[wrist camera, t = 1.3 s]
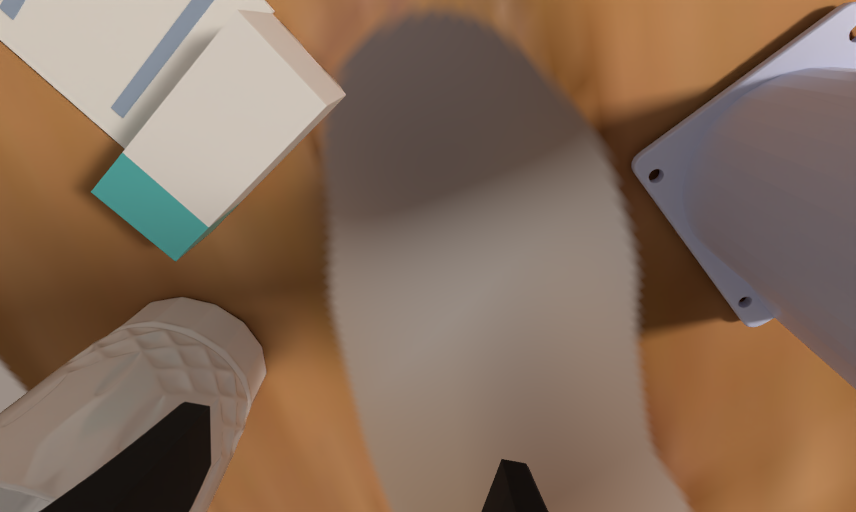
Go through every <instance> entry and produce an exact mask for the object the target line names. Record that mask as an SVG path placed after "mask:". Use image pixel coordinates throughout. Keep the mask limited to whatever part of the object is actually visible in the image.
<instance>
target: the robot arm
mask: <svg viewBox="0 0 856 512" xmlns="http://www.w3.org/2000/svg"><path fill="white" fill-rule="evenodd" d="M855 26H856V2H849V3H844V4H842V5H840V6H838V7H836V8H835V9H834V10H832V11H831V12H830V13H828V14H827V15H825V16H824V17H823V18H821V19H820V20H819V21H817V22H816V23H815V24H813V25H812V26H811V27H809V28H808V29H806V30H805V31H804V32H802V33H801V34H800V35H798V36H797V37H796V38H794V39H793V40H791V41H790V42H789V43H787V44H786V45H785V46H783V47H782V48H781V49H779V50H778V51H777V52H775V53H774V54H772V55H771V56H770V57H768V58H767V59H766V60H764V61H763V62H762V63H760V64H759V65H757V66H756V67H755V68H753V69H752V70H751V71H749V72H748V73H747V74H745V75H744V76H743V77H741V78H740V79H738V80H737V81H736V82H734V83H733V84H732V85H730V86H729V87H728V88H726V89H725V90H723V91H722V92H721V93H719V94H718V95H717V96H715V97H714V98H713V99H711V100H710V101H709V102H707V103H706V104H704V105H703V106H702V107H700V108H699V109H698V110H696V111H695V112H694V113H692V114H691V115H689V116H688V117H687V118H685V119H684V120H683V121H681V122H680V123H679V124H677V125H676V126H675V127H673V128H672V129H670V130H669V131H668V132H666V133H665V134H664V135H662V136H661V137H660V138H658V139H657V140H655V141H654V142H653V143H651V144H650V145H649V146H647V147H646V148H645V149H643V150H642V151H641V152H639V153H638V154H637V155H636V156H635V157H634V159H633V161H632V166H631V168H632V170H633V173H634V174H635V175H636V177H637V178H638V179H639V181H640V182H641V184H642V185H643V186H644V188H645V189H646V190H647V192H648V193H649V195H650V196H651V197H652V199H653V200H654V202H655V203H656V204H657V206H658V207H659V208H660V210H661V211H662V213H663V214H664V215H665V217H666V218H667V219H668V221H669V222H670V224H671V225H672V226H673V228H674V229H675V231H676V232H677V233H678V235H679V236H680V237H681V239H682V240H683V242H684V243H685V244H686V246H687V247H688V249H689V250H690V251H691V253H692V254H693V255H694V257H695V258H696V260H697V261H698V262H699V264H700V265H701V266H702V268H703V269H704V271H705V272H706V273H707V275H708V276H709V278H710V279H711V280H712V282H713V283H714V284H715V286H716V287H717V289H718V290H719V291H720V293H721V294H722V295H723V297H724V298H725V300H726V301H727V302H728V304H729V305H730V307H731V308H732V309H733V311H734V312H735V313H736V315H737V316H738V318H739V319H740V320H741V321H742V322H743V323H744V324H745V325H746V326H748V327H757V326H760V325H762V324H764V323H766V322H768V321H769V320H771V319H773V318H776V319H777V320H778V321H779V322H780V323H781V324H783V325H784V326H785V327H786V328H787V329H788V330H789V331H790V332H792V333H793V334H794V335H795V336H796V337H797V338H798V339H799V340H801V341H802V342H803V343H804V344H805V345H806V346H807V347H808V348H810V349H811V350H812V351H813V352H814V353H815V354H816V355H818V356H819V357H820V358H821V359H822V360H823V361H824V362H825V363H827V364H828V365H829V366H830V367H831V368H832V369H833V370H834V371H836V372H837V373H838V374H839V375H840V376H841V377H842V378H843V379H845V380H846V381H847V382H848V383H849V384H850V385H851V386H852V387H854V388H855V389H856V36H855V37H854V38H853V40H851V41H850V40H849V34H850V31H851V30H852V29H853V28H854V27H855ZM655 169H659V175H658V177H657V178H656V179H653V180H649V174H650V173H651V172H652V171H653V170H655ZM743 297H746V299H745V300H744V301H742V302H740V303H738V302H739V300H740V299H741V298H743ZM210 466H211V426H210V406H207V405H201V404H196V403H190V402H183V403H181V404H180V405H179V406H177V407H176V408H175V409H174V410H173V411H171V412H170V413H169V414H168V415H166V416H165V417H164V418H163V419H162V420H160V421H159V422H158V423H157V424H155V425H154V426H153V427H152V428H150V429H149V430H148V431H147V432H146V433H144V434H143V435H142V436H141V437H139V438H138V439H137V440H135V441H134V442H133V443H132V444H130V445H129V446H128V447H127V448H125V449H124V450H123V451H121V452H120V453H119V454H118V455H116V456H115V457H114V458H112V459H111V460H110V461H108V462H107V463H106V464H104V465H103V466H102V467H101V468H99V469H98V470H97V471H95V472H94V473H93V474H91V475H90V476H89V477H87V478H86V479H84V480H83V481H82V482H80V483H79V484H77V485H76V486H75V487H73V488H72V489H70V490H69V491H68V492H66V493H65V494H63V495H62V496H61V497H59V498H58V499H56V500H55V501H53V502H52V503H51V504H49V505H48V506H46V507H45V508H44V509H42V510H41V511H39V512H189V511H190V509H191V508H192V506H193V503H194V501H195V499H196V497H197V495H198V493H199V491H200V489H201V486H202V484H203V482H204V480H205V477H206V475H207V473H208V471H209V468H210ZM482 512H548V510H547V508H546V506H545V504H544V501H543V499H542V497H541V495H540V492H539V490H538V488H537V486H536V483H535V481H534V479H533V477H532V474H531V472H530V470H529V467H528V466H527V464H525V463H520V462H515V461H509V460H504V459H502V460H501V462H500V465H499V467H498V470H497V473H496V475H495V478H494V481H493V483H492V486H491V488H490V491H489V494H488V496H487V499H486V502H485V504H484V507H483V509H482Z"/></svg>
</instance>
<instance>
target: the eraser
mask: <svg viewBox="0 0 856 512" xmlns="http://www.w3.org/2000/svg"><path fill="white" fill-rule="evenodd" d="M345 95H346V94H345V93H344V92H343V90H342V88H341V87H340V85H339V84H338V83H337V81H336V80H335V79H333V78H332V77H331V76H330V75H329V74H328V73H327V71H326V70H325V69H324V68H322V67H321V66H320V65H319V64H318V63H317V62H316V61H315V60H314V59H313V58H312V57H311V56H310V54H309V53H308V52H307V51H306V50H305V49H304V48H303V46H302V44H301V43H300V42H299V41H298V40H297V39H296V37H295V36H294V35H293V34H292V33H291V32H290V31H289V30H288V29H287V28H286V26H285V25H284V24H282V23H281V22H280V21H279V20H278V19H277V18H276V17H275V16H274V15H273V14H272V13H266V12H257V11H247V10H238V9H237V10H236V11H235V12H234V13H233V15H232V16H231V17H230V18H229V20H228V21H227V22H226V23H225V25H224V26H223V27H222V28H221V30H220V31H219V32H218V33H217V35H216V36H215V37H214V38H213V40H212V41H211V42H210V43H209V45H208V46H207V47H206V48H205V50H204V51H203V52H202V53H201V55H200V56H199V57H198V58H197V60H196V61H195V62H194V63H193V65H192V66H191V67H190V68H189V70H188V71H187V72H186V73H185V75H184V76H183V77H182V78H181V80H180V81H179V82H178V84H177V85H176V86H175V87H174V89H173V90H172V91H171V92H170V94H169V95H168V96H167V97H166V99H165V100H164V101H163V102H162V104H161V105H160V106H159V107H158V109H157V110H156V111H155V112H154V114H153V115H152V116H151V117H150V119H149V120H148V121H147V122H146V124H145V125H144V126H143V127H142V129H141V130H140V131H139V132H138V134H137V135H136V136H135V137H134V139H133V140H132V141H131V142H130V144H129V145H128V146H127V147H126V149H125V150H124V151H123V152H122V154H121V155H120V156H119V157H118V159H117V160H116V161H115V162H114V164H113V165H112V166H111V167H110V169H109V170H108V171H107V172H106V174H105V175H104V176H103V177H102V179H101V180H100V181H99V182H98V184H97V185H96V186H95V187H94V189H93V190H92V191H91V193H93V194H94V195H95V196H96V197H98V198H99V199H100V200H101V201H102V202H104V203H105V204H106V205H107V206H109V207H110V208H111V209H112V210H113V211H115V212H116V213H117V214H118V215H119V216H121V217H122V218H123V219H124V220H126V221H127V222H128V223H129V224H130V225H132V226H133V227H134V228H135V229H137V230H138V231H139V232H140V233H141V234H143V235H144V236H145V237H146V238H147V239H149V240H150V241H151V242H152V243H154V244H155V245H156V246H157V247H158V248H160V249H161V250H162V251H163V252H165V253H166V254H167V255H168V256H169V257H171V258H172V259H173V260H174V261H175V262H176V261H177V260H178V259H179V258H181V257H182V256H183V255H184V254H185V253H187V252H188V251H189V250H190V249H192V248H193V247H194V246H195V245H196V244H198V243H199V242H200V241H201V240H203V239H204V238H205V237H206V236H207V235H209V234H210V233H211V232H212V231H213V230H214V229H215V228H216V227H217V226H218V225H219V224H220V223H221V222H222V221H223V220H224V219H225V218H226V217H227V216H228V215H229V214H230V213H231V212H232V211H233V210H234V209H235V208H236V207H237V206H238V205H239V204H240V203H241V202H242V201H243V200H244V199H245V198H246V197H247V196H248V194H249V193H250V192H251V191H252V190H253V189H254V188H255V187H256V186H257V185H258V184H259V183H260V182H261V181H262V180H263V179H264V178H265V177H266V176H267V175H268V174H269V173H270V172H271V171H272V170H273V169H274V168H275V167H276V166H277V165H278V164H279V163H280V162H281V161H282V160H283V159H284V158H285V157H286V156H287V155H288V154H289V153H290V152H291V151H292V150H293V149H294V148H295V147H296V146H297V145H298V144H299V143H300V141H301V140H302V139H303V138H304V137H305V136H306V135H307V134H308V133H309V132H310V131H311V130H312V129H313V128H314V127H315V126H316V125H317V124H318V123H319V122H320V121H321V120H322V119H323V118H324V117H325V116H326V115H327V114H328V113H329V112H330V111H331V110H332V109H333V108H334V107H335V106H336V105H337V104H338V103H339V102H340V101H341V100H342V99H343V98H344V96H345Z"/></svg>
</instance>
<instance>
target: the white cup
mask: <svg viewBox="0 0 856 512" xmlns="http://www.w3.org/2000/svg"><path fill="white" fill-rule="evenodd" d="M265 376H266V367H265V361H264V355H263V350H262V346H261V345H260V344H259V342H258V341H257V339H256V338H255V337H254V335H253V334H252V333H251V331H250V330H249V329H248V327H247V326H246V325H245V323H244V322H242V321H241V320H239V319H238V318H236V317H234V316H233V315H231V314H230V313H228V312H227V311H225V310H223V309H222V308H220V307H219V306H217V305H215V304H211V303H207V302H203V301H198V300H194V299H190V298H185V297H178V298H172V299H166V300H161V301H155V302H151V303H149V304H148V305H147V306H145V307H144V308H143V309H142V310H140V311H139V312H138V313H137V314H135V315H134V316H133V317H132V318H130V319H129V320H128V321H127V322H125V323H124V324H123V325H122V326H120V327H119V328H117V329H116V330H114V331H113V332H111V333H110V334H109V335H108V336H106V337H104V338H102V339H99V340H97V341H95V342H94V343H93V344H91V345H90V346H89V347H88V348H87V349H85V350H84V351H82V352H81V353H79V354H78V355H76V356H75V357H73V358H72V359H71V360H69V361H68V362H66V363H65V364H64V365H62V366H61V367H60V368H58V369H57V370H56V371H54V372H53V373H52V374H51V375H49V376H48V377H47V378H45V379H44V380H43V381H41V382H40V383H39V384H38V385H36V386H35V387H34V388H32V389H31V390H30V391H29V392H27V393H26V394H25V395H23V396H22V397H21V398H19V399H18V400H17V401H16V402H15V403H13V404H12V405H10V406H9V407H8V408H6V409H5V410H4V411H2V412H1V413H0V512H39V511H41V510H42V509H44V508H45V507H46V506H48V505H49V504H51V503H52V502H53V501H55V500H56V499H58V498H59V497H61V496H62V495H63V494H65V493H66V492H68V491H69V490H70V489H72V488H73V487H75V486H76V485H77V484H79V483H80V482H82V481H83V480H84V479H86V478H87V477H89V476H90V475H91V474H93V473H94V472H95V471H97V470H98V469H99V468H101V467H102V466H103V465H104V464H106V463H107V462H108V461H110V460H111V459H112V458H114V457H115V456H116V455H118V454H119V453H120V452H121V451H123V450H124V449H125V448H127V447H128V446H129V445H130V444H132V443H133V442H134V441H135V440H137V439H138V438H139V437H141V436H142V435H143V434H144V433H146V432H147V431H148V430H149V429H150V428H152V427H153V426H154V425H155V424H157V423H158V422H159V421H160V420H162V419H163V418H164V417H165V416H166V415H168V414H169V413H170V412H171V411H173V410H174V409H175V408H176V407H177V406H179V405H180V404H181V403H183V402H190V403H196V404H201V405H207V406H210V426H211V466H210V468H209V471H208V473H207V475H206V477H205V480H204V482H203V484H202V486H201V489H200V491H199V493H198V495H197V497H196V499H195V501H194V503H193V506H192V508H191V509H190V511H189V512H207V511H208V508H209V506H210V504H211V502H212V500H213V498H214V495H215V493H216V491H217V489H218V487H219V485H220V483H221V480H222V478H223V476H224V474H225V472H226V470H227V468H228V465H229V463H230V461H231V459H232V457H233V455H234V452H235V449H236V446H237V444H238V441H239V439H240V437H241V435H242V433H243V431H244V429H245V425H246V418H247V416H248V414H249V411H250V408H251V406H252V404H253V402H254V400H255V398H256V396H257V394H258V392H259V389H260V387H261V385H262V382H263V380H264V378H265Z"/></svg>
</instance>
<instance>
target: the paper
mask: <svg viewBox="0 0 856 512" xmlns="http://www.w3.org/2000/svg"><path fill="white" fill-rule="evenodd" d="M237 9H238V10H247V11H257V12H266V13H272V14H273V13H274V12H275V11H274V10H273V8H272V7H271V6H270V5H269V4H268V3H267V2H266V1H265V0H0V40H1V41H2V42H3V43H4V44H5V45H6V46H8V47H9V48H10V49H11V50H12V51H13V52H14V53H16V54H17V55H18V56H19V57H20V58H21V59H23V60H24V61H25V62H26V63H27V64H28V65H29V66H31V67H32V68H33V69H34V70H35V71H36V72H37V73H39V74H40V75H41V76H42V77H43V78H44V79H45V80H47V81H48V82H49V83H50V84H51V85H52V86H53V87H55V88H56V89H57V90H58V91H59V92H60V93H61V94H63V95H64V96H65V97H66V98H67V99H68V100H69V101H71V102H72V103H73V104H74V105H75V106H76V107H77V108H79V109H80V110H81V111H82V112H83V113H84V114H85V115H87V116H88V117H89V118H90V119H91V120H92V121H93V122H95V123H96V124H97V125H98V126H99V127H100V128H101V129H103V130H104V131H105V132H106V133H107V134H108V135H109V136H111V137H112V138H113V139H114V140H115V141H116V142H117V143H119V144H120V145H121V146H122V147H123V148H124V149H126V147H127V146H128V145H129V144H130V142H131V141H132V140H133V139H134V137H135V136H136V135H137V134H138V132H139V131H140V130H141V129H142V127H143V126H144V125H145V124H146V122H147V121H148V120H149V119H150V117H151V116H152V115H153V114H154V112H155V111H156V110H157V109H158V107H159V106H160V105H161V104H162V102H163V101H164V100H165V99H166V97H167V96H168V95H169V94H170V92H171V91H172V90H173V89H174V87H175V86H176V85H177V84H178V82H179V81H180V80H181V78H182V77H183V76H184V75H185V73H186V72H187V71H188V70H189V68H190V67H191V66H192V65H193V63H194V62H195V61H196V60H197V58H198V57H199V56H200V55H201V53H202V52H203V51H204V50H205V48H206V47H207V46H208V45H209V43H210V42H211V41H212V40H213V38H214V37H215V36H216V35H217V33H218V32H219V31H220V30H221V28H222V27H223V26H224V25H225V23H226V22H227V21H228V20H229V18H230V17H231V16H232V15H233V13H234V12H235V11H236V10H237Z"/></svg>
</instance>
